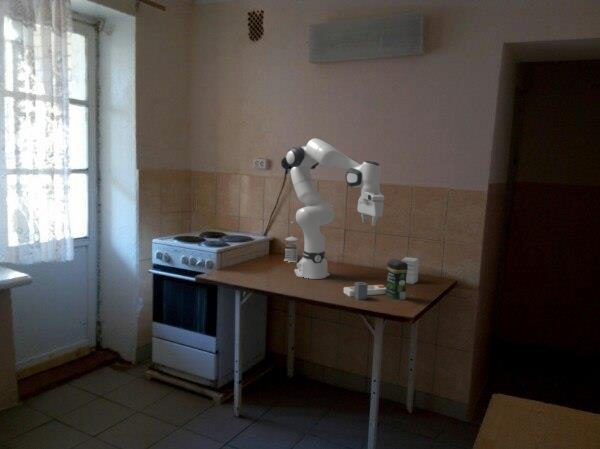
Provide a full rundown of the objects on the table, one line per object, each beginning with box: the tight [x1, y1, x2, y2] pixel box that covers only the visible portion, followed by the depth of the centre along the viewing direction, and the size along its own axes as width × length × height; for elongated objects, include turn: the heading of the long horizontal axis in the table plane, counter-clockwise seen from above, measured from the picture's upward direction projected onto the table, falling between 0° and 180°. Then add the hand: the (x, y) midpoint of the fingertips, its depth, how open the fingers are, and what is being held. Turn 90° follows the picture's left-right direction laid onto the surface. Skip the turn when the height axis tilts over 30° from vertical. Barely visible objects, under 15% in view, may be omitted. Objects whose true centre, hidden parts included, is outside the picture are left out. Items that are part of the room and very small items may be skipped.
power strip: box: [343, 284, 387, 297], centre depth 234 cm, size 7×20×4 cm, turn 109°
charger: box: [353, 281, 369, 301], centre depth 226 cm, size 4×4×8 cm
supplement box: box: [401, 256, 420, 285], centre depth 262 cm, size 7×7×13 cm
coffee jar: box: [385, 258, 408, 301], centre depth 229 cm, size 10×8×19 cm
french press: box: [283, 221, 300, 263], centre depth 303 cm, size 10×12×25 cm
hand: (368, 224), depth 234 cm, fingers open, 8 cm apart
